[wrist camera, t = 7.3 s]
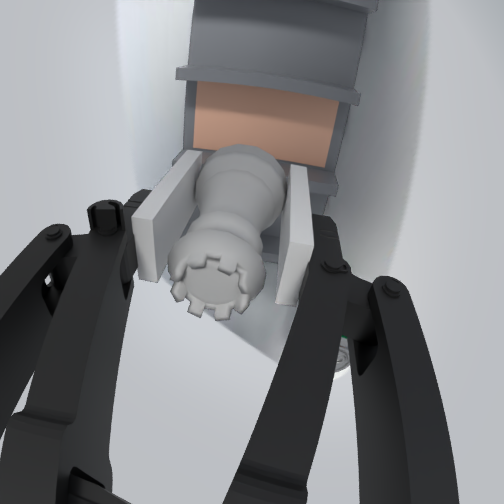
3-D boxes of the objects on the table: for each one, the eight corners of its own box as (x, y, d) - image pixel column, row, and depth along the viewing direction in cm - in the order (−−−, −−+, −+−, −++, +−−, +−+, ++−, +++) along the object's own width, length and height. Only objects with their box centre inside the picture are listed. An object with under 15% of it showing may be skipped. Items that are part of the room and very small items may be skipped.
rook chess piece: (238, 122, 14) (190, 197, 8) (306, 182, 16) (315, 295, 9) (184, 185, 16) (118, 288, 10) (248, 235, 18) (223, 354, 11)
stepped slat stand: (199, -18, 19) (186, -26, 16) (367, 5, 19) (378, -1, 16) (184, 225, 34) (173, 246, 31) (312, 246, 34) (314, 269, 31)
